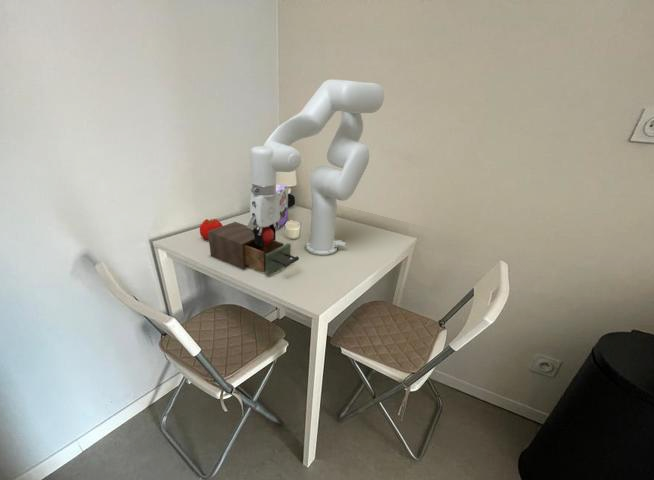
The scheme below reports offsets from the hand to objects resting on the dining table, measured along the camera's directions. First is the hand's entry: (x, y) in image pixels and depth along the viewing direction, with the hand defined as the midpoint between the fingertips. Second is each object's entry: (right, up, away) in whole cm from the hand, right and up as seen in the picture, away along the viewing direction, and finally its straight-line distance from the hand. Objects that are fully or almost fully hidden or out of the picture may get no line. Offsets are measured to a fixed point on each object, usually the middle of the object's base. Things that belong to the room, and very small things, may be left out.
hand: (265, 241), depth 118 cm
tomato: (-26, +5, +24) cm, 35 cm away
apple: (0, 0, 0) cm, 1 cm away
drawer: (+1, -8, +4) cm, 9 cm away
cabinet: (-11, -4, +11) cm, 16 cm away
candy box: (-1, +15, +41) cm, 44 cm away
